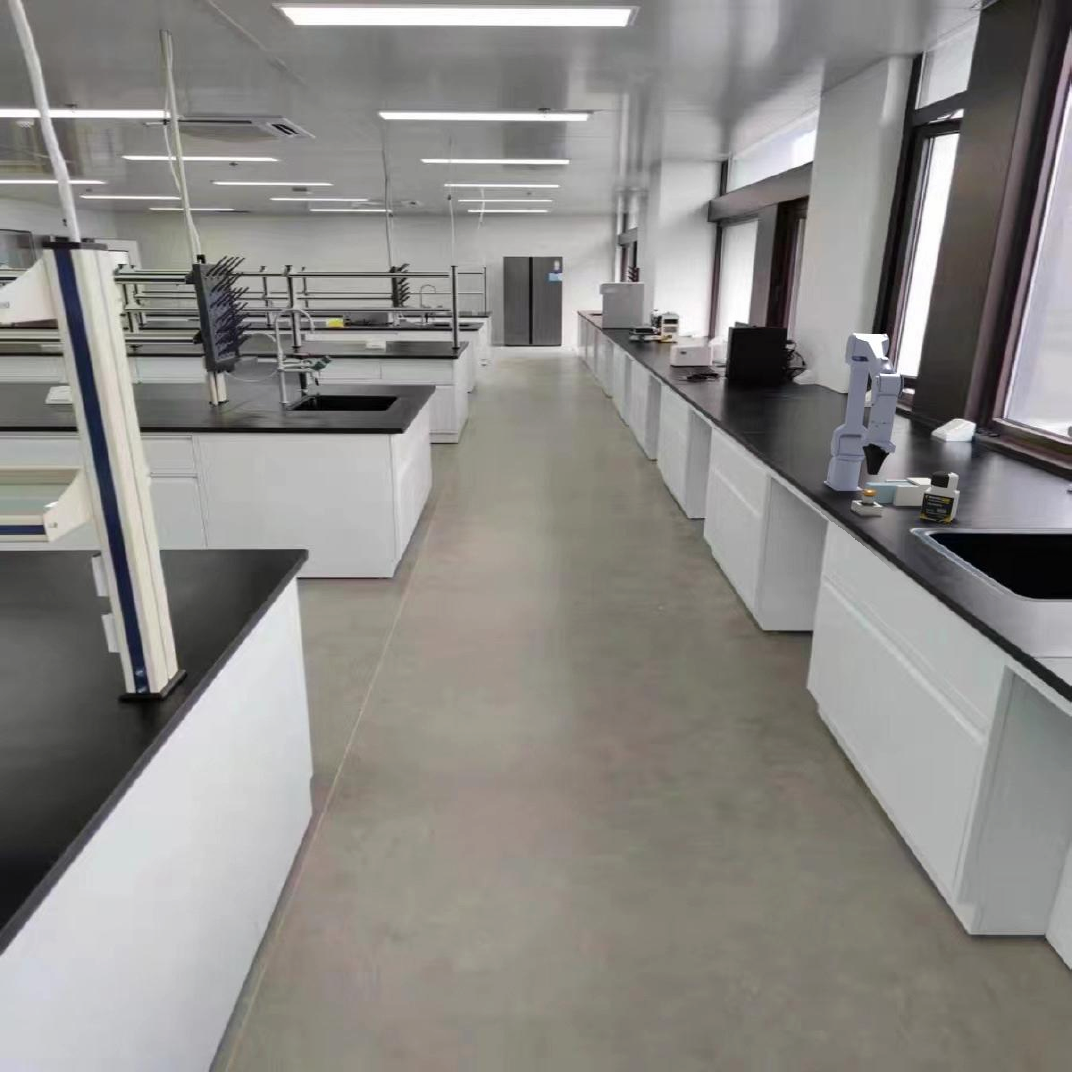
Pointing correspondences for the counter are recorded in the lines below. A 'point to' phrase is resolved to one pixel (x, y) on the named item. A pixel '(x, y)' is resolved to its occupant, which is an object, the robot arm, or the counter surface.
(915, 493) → the housing
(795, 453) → the counter surface
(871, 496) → the gold-topped knob
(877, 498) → the cartridge
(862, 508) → the plunger collar
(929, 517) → the medicine bottle
